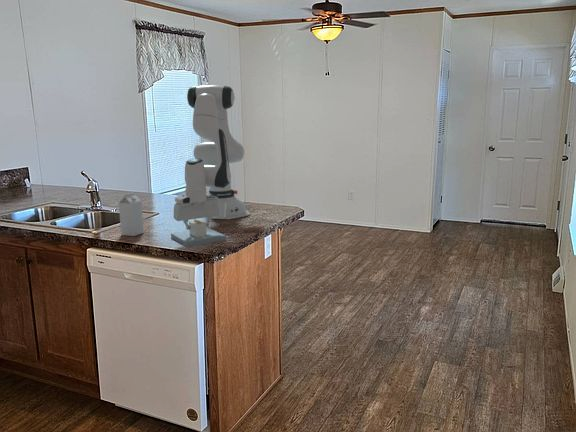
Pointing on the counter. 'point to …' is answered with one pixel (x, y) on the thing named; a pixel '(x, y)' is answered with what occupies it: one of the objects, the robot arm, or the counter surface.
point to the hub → (197, 238)
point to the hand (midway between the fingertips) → (197, 228)
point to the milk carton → (131, 215)
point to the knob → (198, 228)
